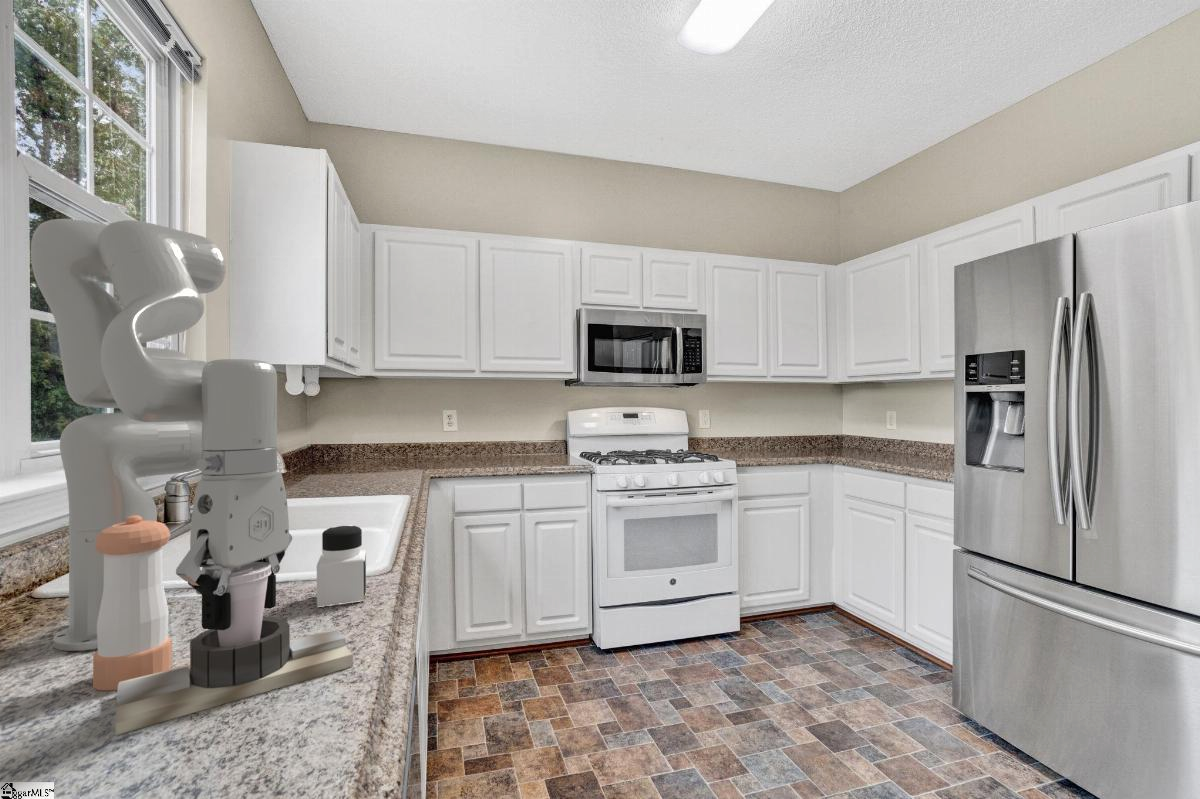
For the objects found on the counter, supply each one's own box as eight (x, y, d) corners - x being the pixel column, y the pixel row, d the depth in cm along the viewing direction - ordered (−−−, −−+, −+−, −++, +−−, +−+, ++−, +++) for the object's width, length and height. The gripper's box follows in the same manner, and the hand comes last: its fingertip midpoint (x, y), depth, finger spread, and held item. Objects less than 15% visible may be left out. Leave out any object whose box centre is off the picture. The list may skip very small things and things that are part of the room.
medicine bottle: (365, 602, 91) (364, 529, 91) (316, 608, 89) (316, 533, 89) (366, 589, 98) (365, 521, 98) (321, 595, 95) (320, 525, 95)
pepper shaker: (163, 656, 72) (163, 508, 72) (179, 673, 67) (179, 514, 67) (87, 678, 66) (87, 517, 66) (99, 697, 61) (99, 524, 62)
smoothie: (195, 666, 61) (194, 540, 62) (223, 642, 68) (222, 527, 68) (258, 661, 63) (258, 536, 63) (280, 637, 69) (279, 525, 69)
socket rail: (115, 735, 54) (115, 678, 54) (118, 695, 62) (118, 646, 62) (352, 666, 68) (352, 621, 68) (331, 640, 76) (331, 600, 76)
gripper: (203, 473, 56) (203, 651, 56) (318, 457, 73) (318, 594, 73) (141, 472, 58) (141, 646, 57) (268, 457, 75) (269, 592, 74)
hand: (240, 615), depth 65 cm, fingers closed on smoothie, 6 cm apart
